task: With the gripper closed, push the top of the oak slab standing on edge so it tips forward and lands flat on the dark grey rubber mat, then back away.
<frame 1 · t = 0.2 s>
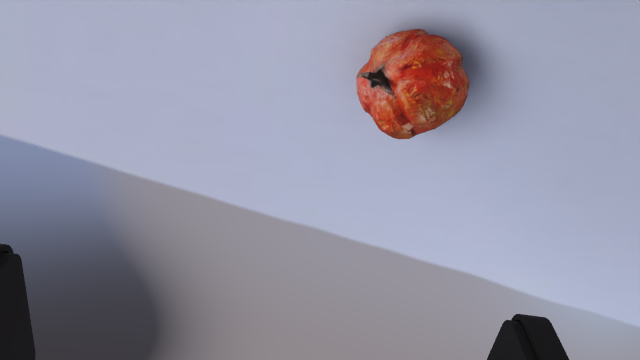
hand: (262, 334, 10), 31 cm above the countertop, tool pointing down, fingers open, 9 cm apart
pomegranate: (407, 69, 40), on the countertop
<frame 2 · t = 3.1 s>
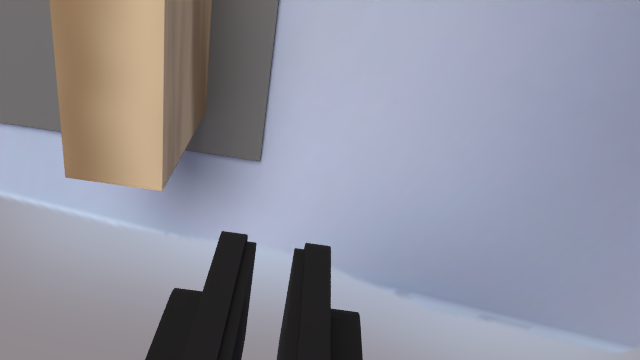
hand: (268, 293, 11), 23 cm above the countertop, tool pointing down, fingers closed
slab: (172, 9, 31), resting on mat
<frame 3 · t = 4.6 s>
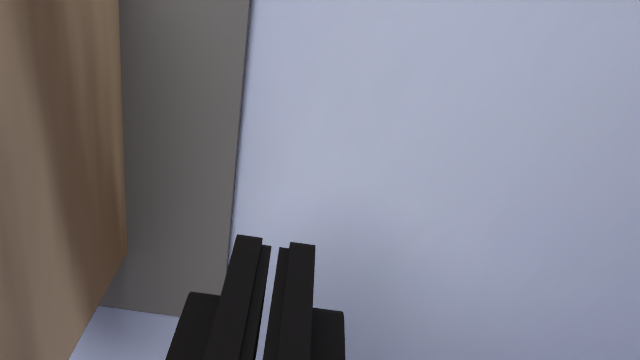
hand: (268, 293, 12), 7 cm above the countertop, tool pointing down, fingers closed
slab: (51, 95, 17), resting on mat
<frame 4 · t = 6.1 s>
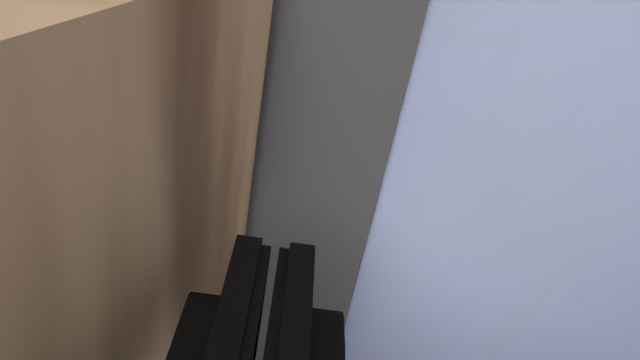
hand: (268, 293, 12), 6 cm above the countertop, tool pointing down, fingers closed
slab: (178, 160, 15), point 1 cm above the countertop, tilted 12°, touching mat
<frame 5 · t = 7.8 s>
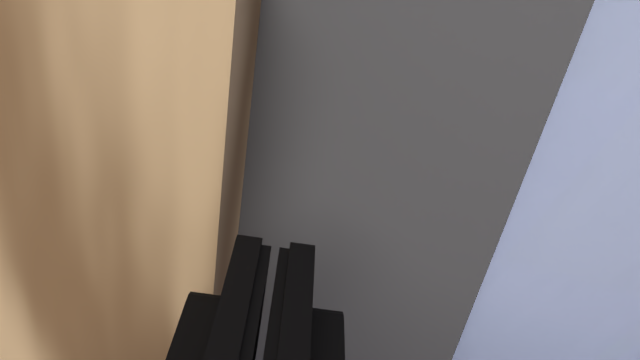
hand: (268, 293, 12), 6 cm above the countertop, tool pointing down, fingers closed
mat: (89, 141, 16), on the countertop
slab: (231, 211, 14), point 3 cm above the countertop, tilted 90°, touching mat
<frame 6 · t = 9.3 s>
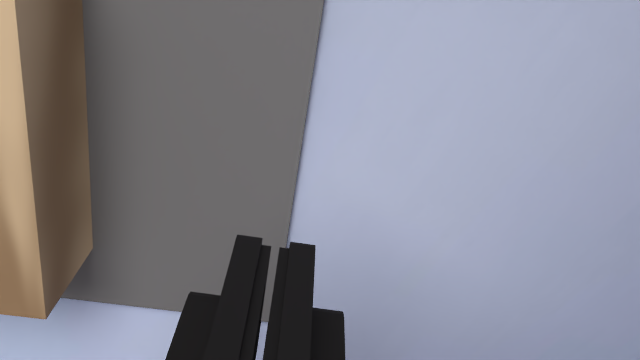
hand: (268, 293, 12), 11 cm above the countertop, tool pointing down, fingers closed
slab: (62, 142, 18), point 3 cm above the countertop, tilted 90°, touching mat
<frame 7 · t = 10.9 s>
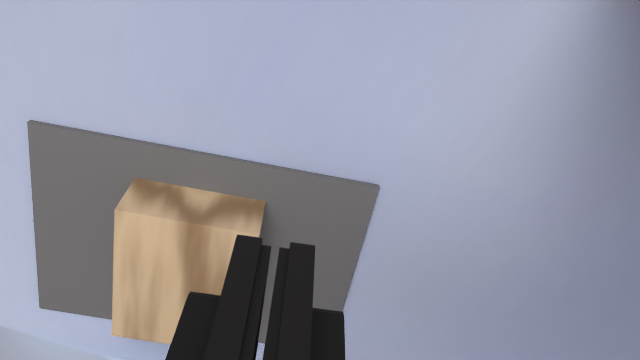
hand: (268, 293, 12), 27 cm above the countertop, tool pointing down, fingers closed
mat: (198, 249, 44), on the countertop
slab: (251, 279, 42), point 3 cm above the countertop, tilted 90°, touching mat
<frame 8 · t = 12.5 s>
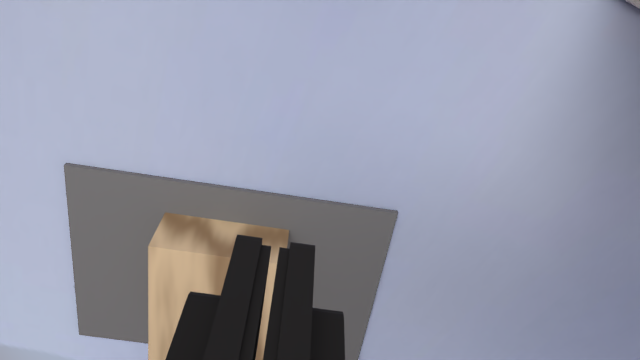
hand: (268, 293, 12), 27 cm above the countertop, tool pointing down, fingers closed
mat: (226, 276, 46), on the countertop
slab: (278, 304, 44), point 3 cm above the countertop, tilted 90°, touching mat
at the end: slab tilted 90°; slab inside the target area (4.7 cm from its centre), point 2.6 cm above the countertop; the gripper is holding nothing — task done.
